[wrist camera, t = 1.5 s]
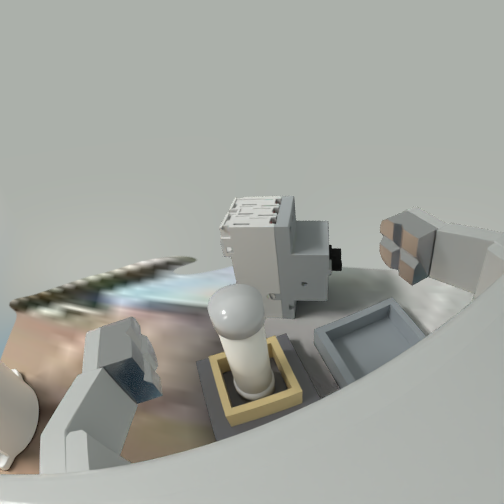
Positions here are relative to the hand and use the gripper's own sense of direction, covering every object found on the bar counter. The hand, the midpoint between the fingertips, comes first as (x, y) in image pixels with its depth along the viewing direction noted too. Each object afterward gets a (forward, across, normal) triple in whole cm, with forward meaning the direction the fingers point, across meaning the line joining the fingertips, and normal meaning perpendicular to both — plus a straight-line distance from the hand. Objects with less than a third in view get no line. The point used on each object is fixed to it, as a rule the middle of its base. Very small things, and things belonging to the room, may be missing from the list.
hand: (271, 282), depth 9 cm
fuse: (+12, +1, +24) cm, 27 cm away
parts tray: (+9, -14, +27) cm, 31 cm away
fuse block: (+12, +1, +26) cm, 29 cm away
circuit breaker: (+25, -9, +26) cm, 37 cm away
